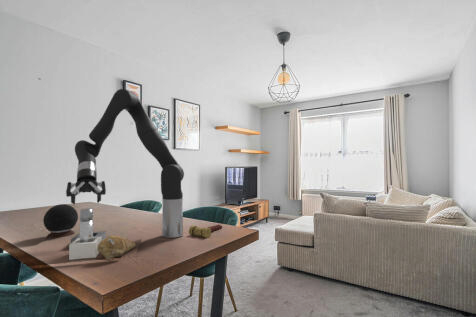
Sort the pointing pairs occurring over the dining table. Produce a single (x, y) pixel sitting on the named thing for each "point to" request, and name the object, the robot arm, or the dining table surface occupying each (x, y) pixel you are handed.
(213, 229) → the gavel
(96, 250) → the block
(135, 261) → the dining table surface
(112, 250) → the seashell
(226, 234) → the dining table surface
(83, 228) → the grey tall cylinder
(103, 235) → the socket block
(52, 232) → the black rounded disc
